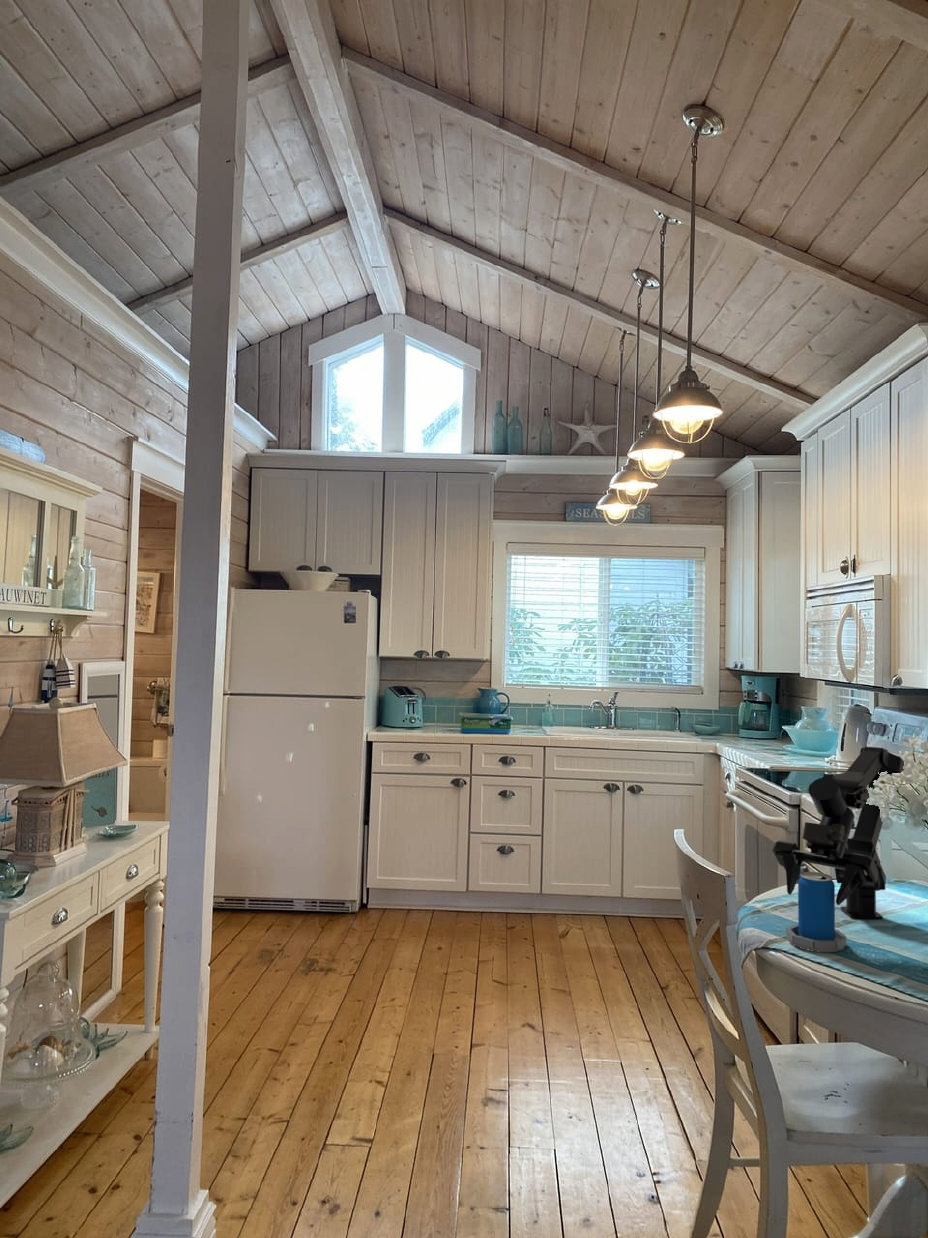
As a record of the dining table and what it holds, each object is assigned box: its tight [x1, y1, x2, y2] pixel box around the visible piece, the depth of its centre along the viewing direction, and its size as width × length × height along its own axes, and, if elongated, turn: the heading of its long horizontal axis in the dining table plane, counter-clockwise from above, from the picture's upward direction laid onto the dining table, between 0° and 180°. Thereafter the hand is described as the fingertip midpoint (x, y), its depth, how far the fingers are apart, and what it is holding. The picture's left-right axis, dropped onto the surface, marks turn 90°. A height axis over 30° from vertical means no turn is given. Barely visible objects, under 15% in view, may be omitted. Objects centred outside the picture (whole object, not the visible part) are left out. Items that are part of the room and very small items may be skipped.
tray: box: [785, 923, 847, 953], centre depth 161 cm, size 10×10×2 cm
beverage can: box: [797, 871, 836, 941], centre depth 161 cm, size 6×6×12 cm
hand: (812, 898), depth 160 cm, fingers open, 9 cm apart
